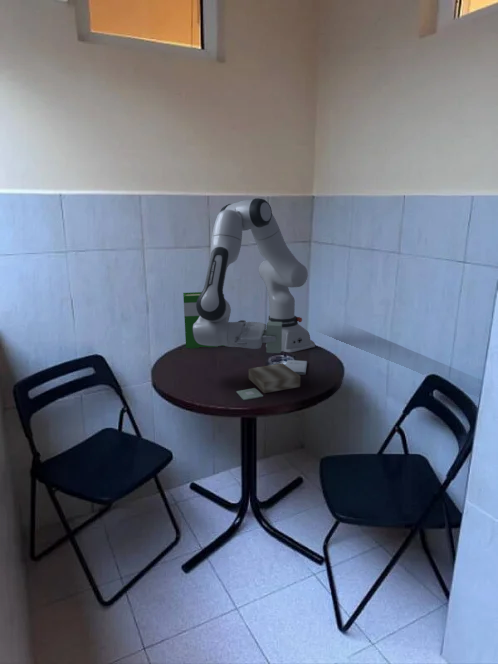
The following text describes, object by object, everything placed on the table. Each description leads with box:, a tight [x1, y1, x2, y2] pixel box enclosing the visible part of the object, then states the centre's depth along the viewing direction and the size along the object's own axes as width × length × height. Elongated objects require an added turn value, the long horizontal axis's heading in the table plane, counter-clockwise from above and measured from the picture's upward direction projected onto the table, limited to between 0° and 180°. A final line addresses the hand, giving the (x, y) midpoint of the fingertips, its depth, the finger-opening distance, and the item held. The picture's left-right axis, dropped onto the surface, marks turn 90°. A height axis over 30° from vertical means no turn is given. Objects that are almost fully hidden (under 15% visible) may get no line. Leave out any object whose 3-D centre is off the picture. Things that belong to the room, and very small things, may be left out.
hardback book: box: [182, 291, 225, 349], centre depth 201 cm, size 18×7×24 cm, turn 99°
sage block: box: [265, 321, 282, 354], centre depth 157 cm, size 5×5×10 cm
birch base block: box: [248, 363, 301, 394], centre depth 162 cm, size 14×14×4 cm
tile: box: [235, 387, 264, 401], centre depth 152 cm, size 7×7×1 cm
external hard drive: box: [285, 359, 308, 376], centre depth 176 cm, size 2×8×12 cm
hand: (276, 335), depth 157 cm, fingers closed on sage block, 5 cm apart
